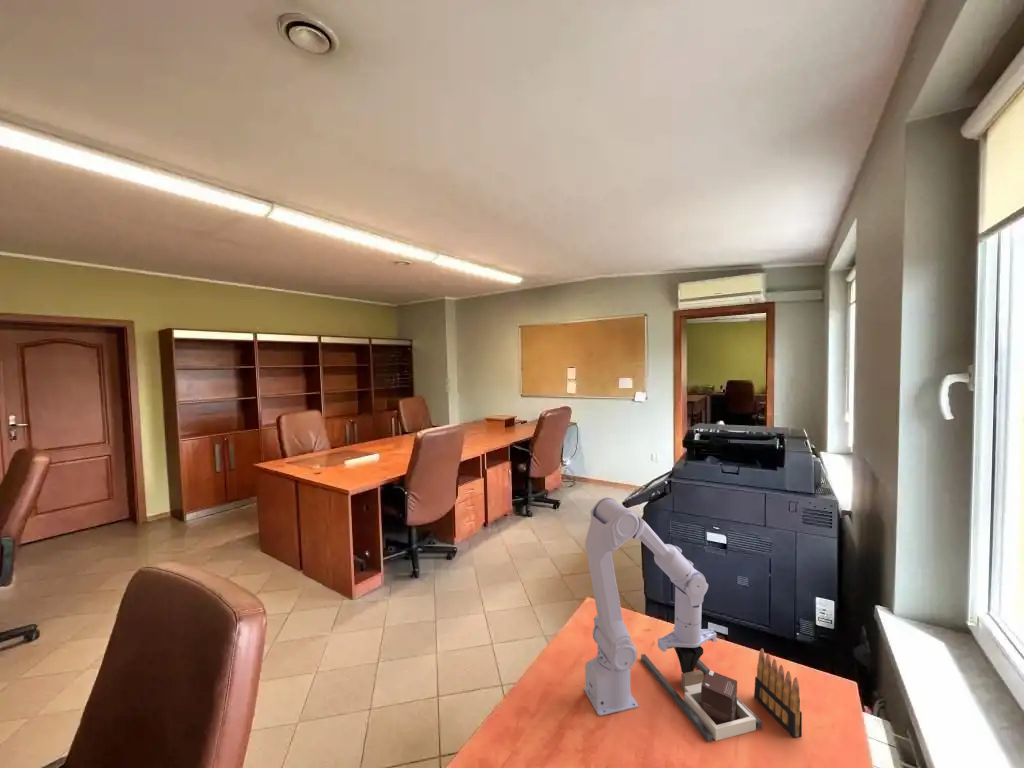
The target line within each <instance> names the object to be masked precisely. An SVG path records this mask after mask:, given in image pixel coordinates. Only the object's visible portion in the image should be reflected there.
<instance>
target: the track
mask: <svg viewBox="0 0 1024 768" xmlns="http://www.w3.org/2000/svg"><path fill="white" fill-rule="evenodd" d="M640 660H641V662H642V663H643V665H645V667H646V668H647V669H648V670H649V671H650V673H651V674H652V675H653V677H654V678H655V680H657V682H659V684H660V685H661V686H662V688H664V690H665V691H666V692H667V694H668V696H670V698H671V699H672V700H673V701H674V702H675V704H676V705H677V706H678V708H680V710H681V712H683V714H684V715H685V716H686V718H687V719H688V720H689V721H690V723H691V724H692V725H693V726H694V727H695V729H696V730H697V732H699V733H700V735H701V736H702V737H703V739H704V740H705V741H706V742H707V743H711V742H713V737H712V734H711V733H710V731H709V730H708V729H707V728H706V727H705V725H704V724H703V723H702V722H701V721H700V719H699V718H698V717H697V716H696V715H695V713H694V712H693V711H692V710H691V709H690V707H689V706H688V705H687V704H686V703H685V701H684V698H682V697H681V695H680V694H679V693H678V692H677V690H676V689H675V688H674V687H673V686H672V685H671V683H670V682H669V681H668V680H667V679H666V678H665V676H664V675H663V674H662V673H661V671H660V670H659V669H658V668H657V667H656V665H655V664H654V663H653V661H652V660H651V659H650V658H649V657H648V656H647V655H646V653H642V654H640ZM695 667H696V668H698V670H701V671H702V672H703V673H704V676H705V675H706V672H707V670H711V669H710V668H709V667H707V665H706V664H705V663H704V662H703V661H701V660H700V658H699V660H698V661H697V663H696V665H695ZM737 700H738V701H739V702H740V703H741V704H742V705H743V706H744V707H745V708H746V709H747V710H748V711H749V712H750V713H751V714H752V715H753V716H754V717H755V718H756V730H760V729H762V728H763V721H762V720H761V719H760V718H759V717H758V716H757V715H756V714H755V713H754V712H753V711H752V710H751V709H750V708H749V707H748V706H747V705H746V704H745V703H744V702H743V701H742V700H741V699H740V698H739V697H738V696H737Z"/></svg>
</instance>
